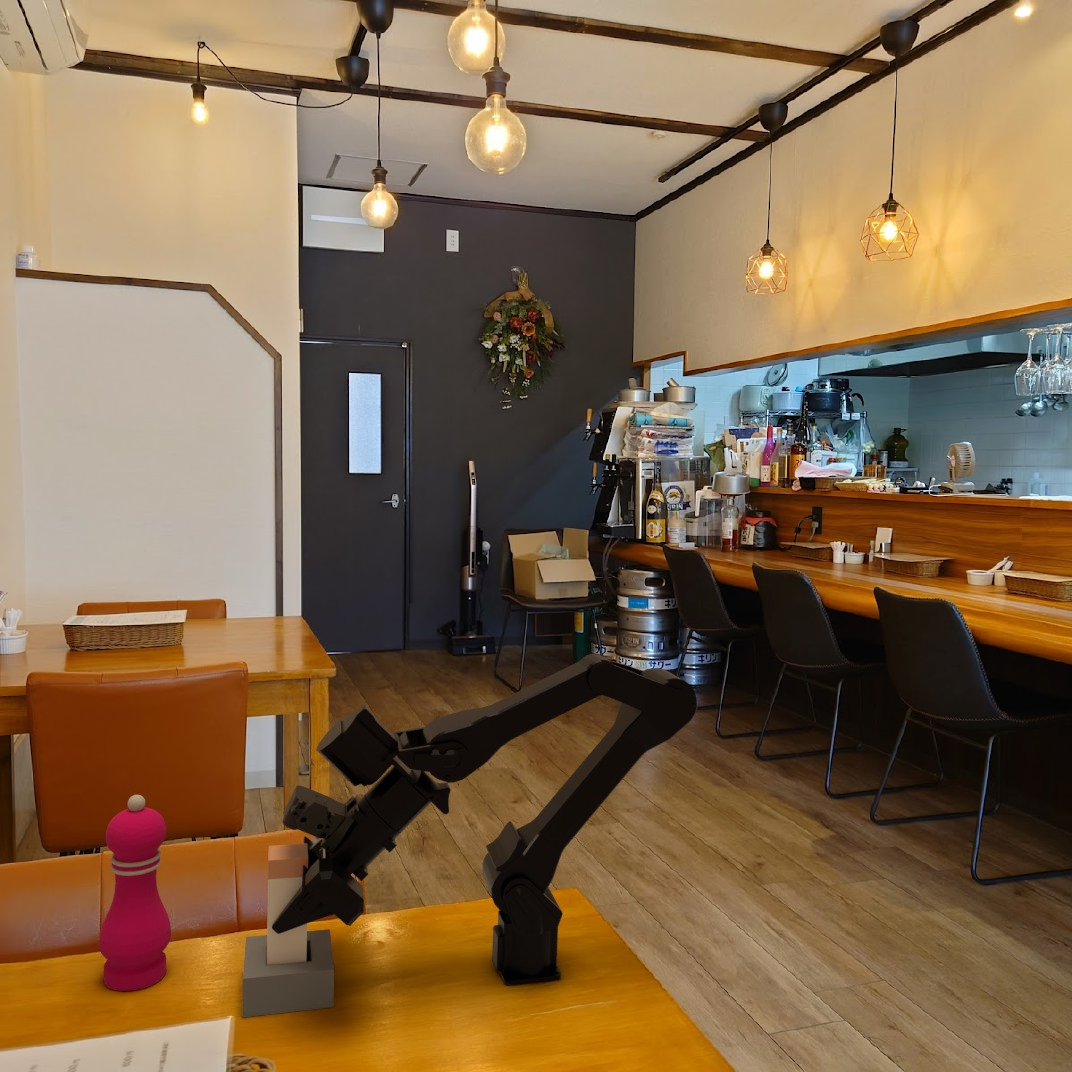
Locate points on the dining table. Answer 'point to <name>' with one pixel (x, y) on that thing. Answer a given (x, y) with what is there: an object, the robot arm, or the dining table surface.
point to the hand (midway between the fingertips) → (275, 920)
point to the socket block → (288, 978)
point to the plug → (285, 902)
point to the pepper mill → (135, 901)
